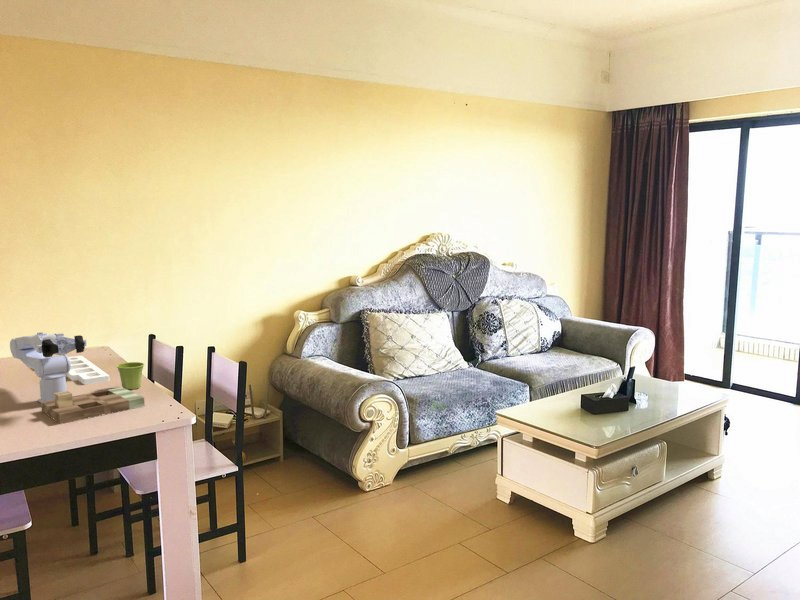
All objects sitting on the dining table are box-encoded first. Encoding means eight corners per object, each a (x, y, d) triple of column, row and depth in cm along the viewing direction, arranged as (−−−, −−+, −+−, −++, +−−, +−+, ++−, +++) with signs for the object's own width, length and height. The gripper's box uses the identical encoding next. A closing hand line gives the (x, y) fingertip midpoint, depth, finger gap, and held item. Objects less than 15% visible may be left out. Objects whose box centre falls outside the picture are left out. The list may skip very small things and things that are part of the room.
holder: (109, 382, 249) (109, 375, 249) (57, 390, 238) (57, 383, 238) (81, 361, 284) (81, 355, 284) (35, 367, 273) (34, 361, 273)
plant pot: (137, 383, 246) (135, 360, 245) (150, 387, 240) (149, 364, 239) (113, 388, 239) (111, 365, 238) (126, 392, 233) (124, 369, 232)
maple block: (54, 405, 207) (54, 393, 207) (68, 402, 210) (67, 390, 209) (59, 408, 204) (58, 395, 204) (72, 405, 207) (71, 393, 207)
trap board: (41, 411, 211) (41, 402, 211) (122, 395, 229) (122, 387, 229) (60, 423, 198) (59, 414, 198) (144, 406, 216) (144, 397, 216)
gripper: (30, 335, 209) (43, 337, 200) (78, 330, 219) (93, 331, 210) (33, 357, 210) (46, 360, 200) (80, 350, 220) (95, 353, 210)
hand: (70, 347), depth 205 cm, fingers open, 7 cm apart
